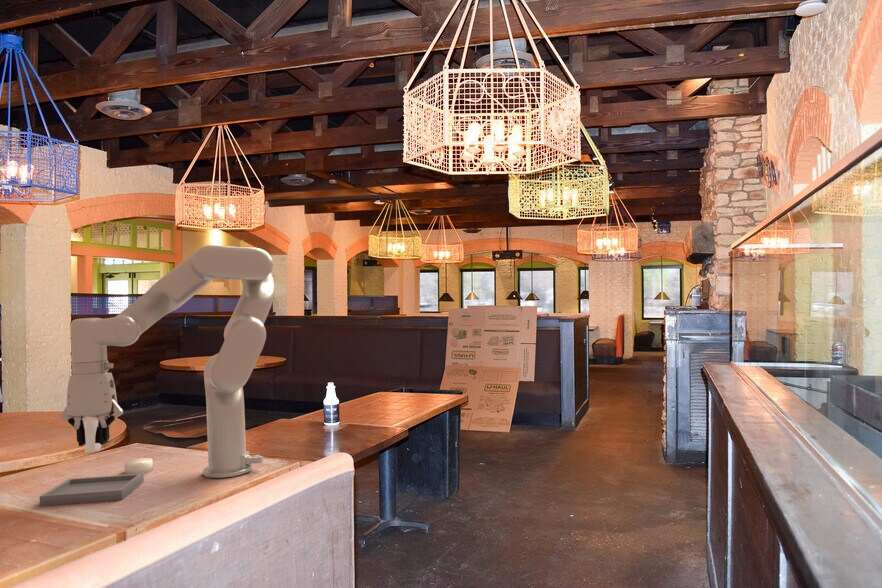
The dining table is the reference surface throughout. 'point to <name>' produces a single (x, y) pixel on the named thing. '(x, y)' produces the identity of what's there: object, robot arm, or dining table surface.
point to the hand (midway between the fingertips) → (93, 443)
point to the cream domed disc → (138, 466)
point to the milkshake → (91, 433)
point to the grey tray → (92, 489)
